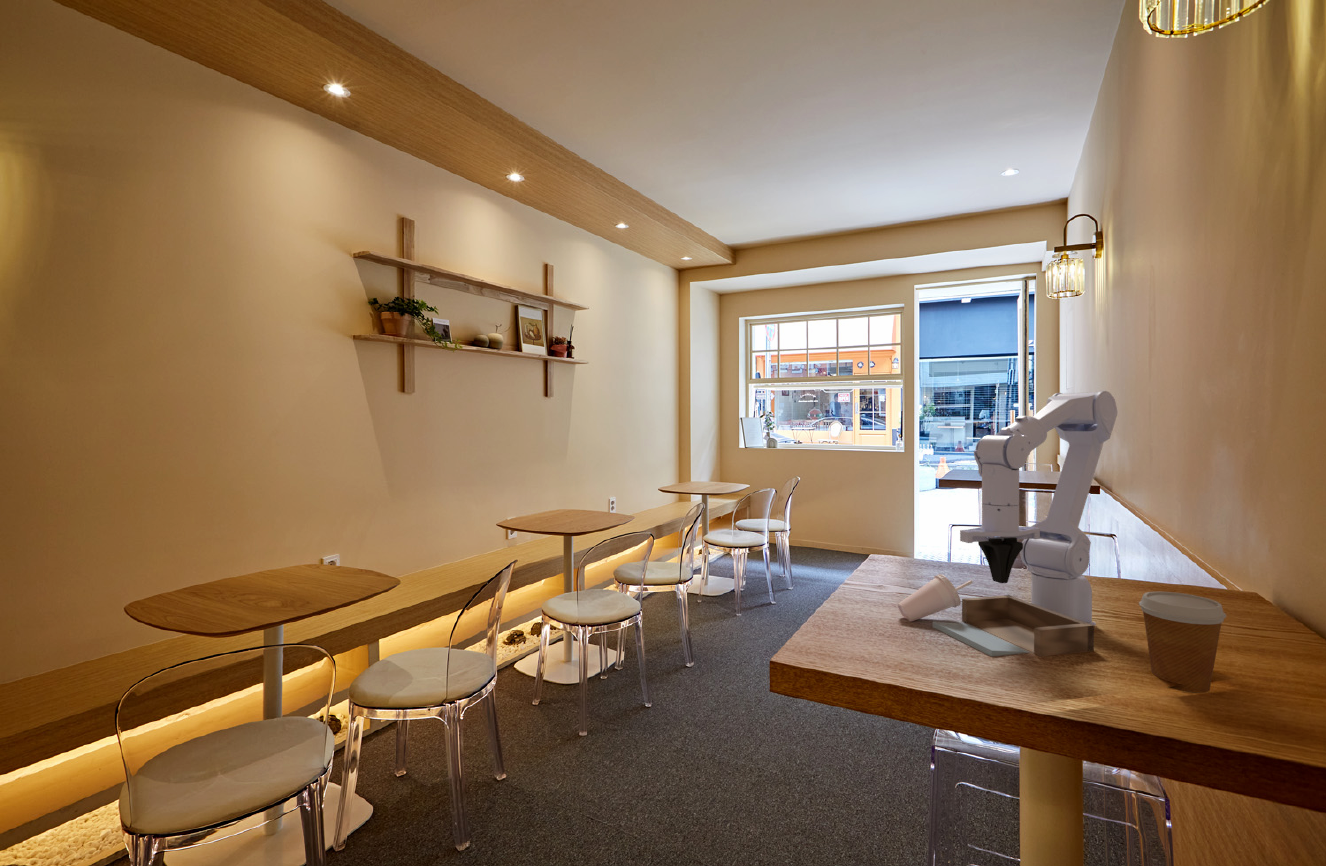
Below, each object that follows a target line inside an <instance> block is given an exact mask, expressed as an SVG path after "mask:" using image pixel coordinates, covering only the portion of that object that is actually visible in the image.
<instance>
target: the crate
mask: <svg viewBox="0 0 1326 866" xmlns="http://www.w3.org/2000/svg"><path fill="white" fill-rule="evenodd" d="M961 621H962V622H964V623H966V624H969V625H971V626H973V627H976V628H978V629H980V630H982V631H984V632H987V633H989V634H991V635H993V636H995V637H998V638H1000V639H1002V640H1004V641H1006V642H1009V643H1011V644H1013V645H1015V646H1017V647H1020V648H1022V649H1024V650H1026V651H1028V652H1030V653H1032V654H1033V655H1036V656H1038V657H1048V656H1055V655H1056V656H1057V655H1066V654H1067V655H1068V654H1075V653H1076V654H1077V653H1085V652H1086V653H1087V652H1094V651H1095V648H1094V647H1095V644H1094V643H1095V642H1094V641H1095V625H1091V624H1088V623H1086V622H1083V621H1080V620H1077V619H1074V618H1072V617H1069V616H1066V615H1063V614H1060V613H1058V612H1055V611H1052V610H1049V609H1046V608H1044V607H1041V606H1038V605H1035V604H1032V603H1031V602H1029V601H1026V600H1023V599H1020V598H1018V597H1016V596H1012V595H1009V594H1008V595H1007V594H1006V595H995V596H980V597H969V598H967V597H966V598H961Z"/></svg>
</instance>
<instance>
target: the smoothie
mask: <svg viewBox="0 0 1326 866" xmlns="http://www.w3.org/2000/svg"><path fill="white" fill-rule="evenodd" d="M973 583H974V581H973V580H968V581H966V582H965V583H963V584H961V585H959V586H956V587H955V586H954V585H953V583H952V582H951V581H950V580H949V578H947V576H945V575H944V574H941V573H939V574H937V575H934V577H933V579H931V580H930V581H928V582H927V583H926V584H924V585H923V586H921V587H920V588H919V589H917V590H915V591H914V592H913V593H911V594H910V595H909V596H907V597H906V598H904V599H903V600H901V601H900V602H898V603H897V609H898V610H899V612H900V614H901V616H902V617H903V618H904V619H907V620H908V622H914V621H917V620H920V619H923V618H926V617H928V616H931V615H934V614H936V613H937V614H938V613H940V612H942V611H944V610H945V611H946V610H948V609H950V608H957V607H959V606H961V605H962V599H961V597H960V595H959V593H958V591H960V590H961V589H964V588H966V587H967V586H970V585H971V584H973Z"/></svg>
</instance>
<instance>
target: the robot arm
mask: <svg viewBox="0 0 1326 866" xmlns="http://www.w3.org/2000/svg"><path fill="white" fill-rule="evenodd" d="M1117 407H1118V406H1117V402H1116V399H1115V396H1113V394H1112V393H1111V392H1110V391H1107V390H1100V391H1089V392H1071V393H1070V392H1069V393H1067V392H1065V393H1063V392H1055V393H1054V394H1052V396H1049V397H1048V398H1047V400H1046V405H1045V406H1043V407H1042V409H1040V410H1039V411H1038V412H1036V414H1034V415H1033V416H1028V415H1018V416H1017V417H1015V419H1014V420H1015V421H1014V422H1012V423H1010V424H1009V425H1007V426H1006V427H1002V428H1001V429H999V431H998V432H997V433H996V434H988V435H985V436H983V437H982V438H981V439H979V440H978V441H977V443H976V445H975V450H974V451H973V456H974V460H975V463H976V464H977V467H978V468H977V469H978V474H979V476H980V477H981V525H980V526H979V527H973V528H970V529H960V530H959V531H960V532H959V541H960V542H962V543H966V544H973V543H977V542H978V546H979V548H980V549H981V551H982V553H983V556H984V557H985V559H986V562H987V564H988V567H989V572H990V574H991V578H992V581H993V582H996V583H999V584H1008V582H1009V579H1010V575H1011V572H1012V569H1013V567H1014V564H1015V561H1016V559H1017V558H1018V556H1019V555H1020V558H1021V561H1022V564H1023V565H1024V566H1026V568H1027V572H1030V573H1031V574H1030V589H1031V590H1030V595H1031V596H1030V601H1031V602H1030V603H1032V604H1035V605H1038V606H1041V607H1044V608H1046V609H1049V610H1052V611H1055V612H1058V613H1060V614H1063V615H1066V616H1069V617H1072V618H1074V619H1077V620H1080V621H1083V622H1086V623H1088V624H1091V625H1094V626H1096V625H1097V623H1096V621H1093V589H1092V585H1091V583H1090V581H1089V580H1088V579H1087V578H1086V577H1085V576H1084V573H1085V572H1086V571H1087V569H1088V568H1089V565H1090V549H1091V544H1092V541H1091V540H1090V538H1089V537H1088V536H1087V535H1086V533H1084V531H1083V530H1082V529H1080V527H1079V526H1080V522H1081V519H1082V516H1083V512H1084V509H1085V506H1086V502H1087V499H1088V496H1089V493H1090V490H1091V486H1092V483H1093V480H1094V478H1095V473H1096V471H1097V466H1098V463H1099V459H1100V457H1101V453H1102V450H1103V446H1104V443H1105V442H1107V441H1108V440H1109V439H1111V436H1112V432H1113V430H1114V426H1115V423H1116V419H1117V417H1118V408H1117ZM1053 429H1054V430H1055V431H1056V433H1057V435H1058V436H1059V438H1060V439H1061V440H1064V441H1065V442H1067V443H1068V444H1069V445H1068V449H1067V452H1066V456H1065V459H1064V461H1063V465H1062V467H1061V468H1062V469H1061V471H1060V475H1059V477H1058V480H1057V483H1056V487H1055V491H1054V493H1053V497H1052V500H1051V503H1050V506H1049V509H1048V513H1047V516H1046V518H1045V519H1043V520H1041V521H1039V522H1036V523H1035V524H1033V525H1031V526H1020V469H1021V468H1024V466H1025V464H1026V463H1027V460H1028V457H1029V455H1030V454H1031V452H1032V451H1033V450H1035V449H1036V448H1038V447H1039V446H1040V445H1042V444H1044V442H1045V441H1046V440H1047V438H1048V432H1051V430H1053ZM1018 540H1022V541H1018Z"/></svg>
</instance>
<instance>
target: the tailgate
mask: <svg viewBox="0 0 1326 866" xmlns="http://www.w3.org/2000/svg"><path fill="white" fill-rule="evenodd" d="M931 627H932V628H933V629H935V630H938V631H939V632H941V633H944V634H946V635H948V636H949V637H951V638H954V639H955V640H957V641H960V642H962V643H963V644H966V645H967V646H969V647H972V648H974V649H976V650H978V651H980V652H981V653H983V654H985V655H987V656H990V657H1000V656H1009V655H1020V654H1030V653H1031V652H1030V651H1027V650H1025V649H1023V648H1021V647H1019V646H1016V645H1014V644H1012V643H1010V642H1008V641H1005V640H1003V639H1001V638H999V637H997V636H994V635H992V634H990V633H988V632H986V631H983V630H981V629H979V628H977V627H975V626H972V625H970V624H968V623H966V622H964V623H963V622H960V623H959V622H945V621H944V622H943V621H932V626H931Z"/></svg>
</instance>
